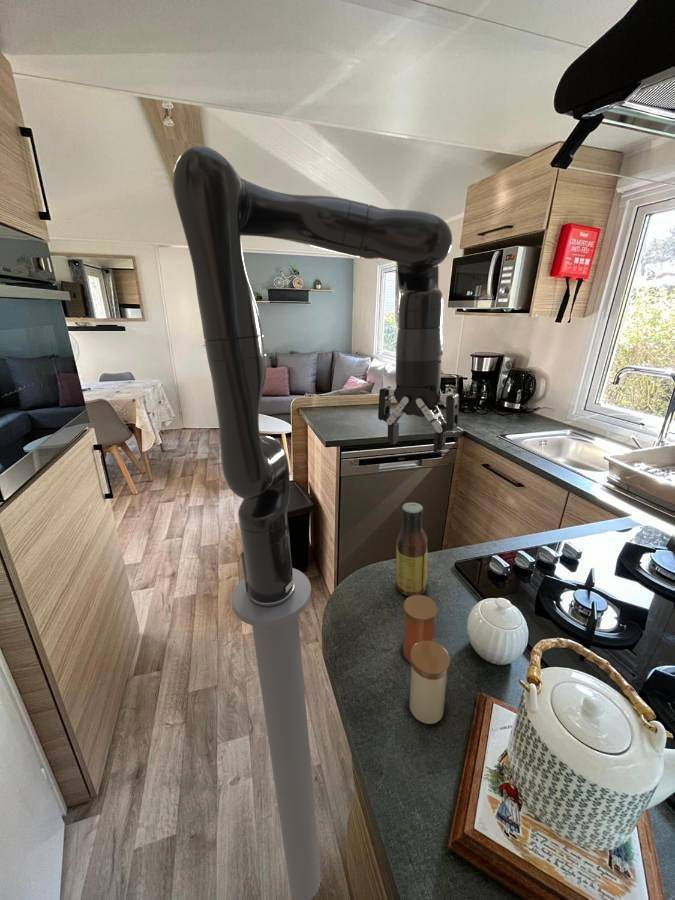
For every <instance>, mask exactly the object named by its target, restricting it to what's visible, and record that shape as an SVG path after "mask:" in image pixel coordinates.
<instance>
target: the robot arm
mask: <svg viewBox="0 0 675 900" xmlns="http://www.w3.org/2000/svg"><path fill="white" fill-rule="evenodd" d="M172 191H173V196H174V201H175V205H176V208H177V212H178V216H179V219H180V222H181V225H182V229H183V233H184V236H185V240H186V244H187V247H188V251H189V255H190V259H191V264H192V269H193V275H194V281H195V291H196V297H197V303H198V308H199V314H200V315H199V316H200V322H201V327H202V335H203V340H204V348H205V351H206V358H207V364H208V368H209V373H210V378H211V383H212V389H213V395H214V401H215V407H216V414H217V415H216V416H217V422H218V432H219V446H220V458H221V461H220V462H221V470H222V474H223V478H224V481H225V483H226V484H227V487H228V488H229V489H230V490H231V492H232V493H233V494H235V495H236V496H237V497H239V498H240V499H243V500H242V501H241V504H240V506H239V508H238V512H237V517H238V524H239V530H240V531H239V532H240V538H241V545H242V552H241V553H240V557H241V565H242V572H243V578H244V579H245V586H246V591H247V592H248V593H249V598H250V600H251V601H252V602H253V603H254V604H255V605H257V606H260V607H274V606H278V605H281V604H283V603H285V602H286V601H287V600H289V599H290V598H291V596H292V595H293V593H294V581H293V571H292V568H293V561H292V551H291V549H292V548H291V538H290V529H289V528H290V527H289V526H290V525H289V518H288V516H289V515H288V509H289V506H290V501H291V486H290V484H291V483H290V466H289V459H288V455H287V452H286V451H285V448H284V447H283V445H282V444H281V443H280V441H278V440H277V439H275V438H274V437H271V436H270V435H269V436H268V435H261V434H260V425H259V418H260V409H261V402H262V397H263V393H264V387H265V384H266V383H265V382H266V375H267V353H266V345H265V338H264V331H263V325H262V319H261V316H260V312H259V309H258V306H257V303H256V299H255V295H254V294H253V290H252V287H251V285H250V284H251V283H250V282H249V278H248V275H247V271H246V266H245V262H244V255H243V247H242V246H243V245H242V236H244V237H245V236H246V237H247V236H249V237H262V238H271V239H278V240H283V241H290V242H294V243H298V244H302V245H306V246H309V247H314V248H319V249H322V250H326V251H330V252H334V253H338V254H343V255H346V256H351V257H356V258H359V259H360V258H361V259H367V260H375V259H383V260H388V261H390V262H395V263H396V273H397V285H398V293H399V294H398V295H399V297H398V298H399V299H398V312H397V318H398V319H397V335H396V341H395V342H396V343H395V388H392V387H391V386H390V385H387V386H385V387H382V388H380V389H379V391H378V409H377V419H378V420H379V421H384V422H385V423H386V424H387V440H388V441H389V445H396V444H397V443H398V442H399V440H400V439H399V438H400V432H399V431H400V423H399V422H398V421H399V420H400V419H401V418H402V417H403V415H404V414H405V415H406V416H416V417H418V418H424V417H425V418H426V420H427V422H429V423H430V424H431V425H432V427H433V428H434V430H435V431H434V432H433V448H432V449H433V453H436V454H439V453H440V452H441V451H442V450H443V449H444V448H445V447H446V439H447V432H452V431H454V429H456V428H457V427H459V410H460V409H459V408H460V407H459V405H460V401H459V398H460V396H459V394H458V393H457V392H452V393H442V391H441V378H442V362H443V361H442V360H443V354H444V348H443V347H444V345H443V344H444V343H443V317H444V296H443V292H442V291H441V290H440V287H439V286H440V285H439V280H440V279H439V274H440V272H439V270H440V269H439V267H440V264H442V263H443V262H444V261H445V259H446V258H447V257H448V255H449V253H450V251H451V250H452V245H453V233H452V230H451V228H450V226H449V225H448V223H447V222H446V221H445V220H444V219H443V218H442V217H440V216H438V215H436V214H433V213H429V212H425V211H421V210H420V211H419V210H411V209H410V210H409V209H398V208H383V207H379V206H377V205H374V204H373V205H372V204H369V203H364V202H361V201H357V200H351V199H348V198H345V197H338V196H330V195H315V194H314V195H312V194H311V195H309V194H291V193H285V192H281V191H276V190H272V189H268V188H265V187H263V186H260V185H258V184H255V183H252V182H250V181H248V180H246V179H244V178H242V177H241V176H240V175H239V173H238V171H237V170H236V169H235V167H234V166H233V165H232V164H231V163H230V162H229V160H228V159H227V158H225V156H224V155H222V154H221V153H219V152H218V151H217V150H214V149H213V148H211V147H208V146H205V145H195V146H190V147H189V148H187V149H186V150H184V152H182V154H181V155H180V156H179V158H178V159H177V160H176V164H175V166H174V169H173V174H172ZM393 399H395V401H396V403H397V405H396V407H395V408H394V409H393V411H391V406H392V400H393ZM440 402H442V404H443V406H444V408H445V416H446V417H445V419H444V417H443V413H442V411H441V409H440V408H439V406H438V404H439V403H440Z"/></svg>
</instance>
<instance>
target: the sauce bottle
mask: <svg viewBox="0 0 675 900" xmlns="http://www.w3.org/2000/svg"><path fill="white" fill-rule="evenodd" d="M401 514H402V523H401V528H400V529H399V530H400V531H399V533H398V534H397V537H396V541H395V543H396V544H395V549H396V550H395V552H396V554H395V559H396V561H395V563H396V564H395V565H396V568H395V569H396V570H395V571H396V576H395V577H396V586H397V589H398V591H399V592H400V593H401V594H402V595H404V596H407V597H410V596H413V595H423V594H424V593H425V591H426V588H427V580H428V579H427V578H428V550H429V549H428V536H427V533H426V531H425V530H424V528H423V516H424V515H423V514H424V508H423V506H422V505H421V504H420V503H418V502H406V503H403V505H402V506H401Z"/></svg>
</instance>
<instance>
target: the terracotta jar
mask: <svg viewBox="0 0 675 900" xmlns="http://www.w3.org/2000/svg"><path fill="white" fill-rule="evenodd" d="M403 615H404V618H403V619H404V620H403V644H402V654H403V657H404V658H405V660H406V661H407V662H409V663H410V664H411V662H410V653H411V649H412V647H413V646H414V645H415V644H416V643H418V642H421V641H433V642H435V632H436V631H435V629H436V620H437V617H438V605H437V603H436V602H435V601H434V600H433V599H431V598H430V597H428V596H426V595H423V594H421V595H413V596H407V598H406V599H405V600H404V602H403Z"/></svg>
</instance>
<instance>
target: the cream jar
mask: <svg viewBox="0 0 675 900" xmlns="http://www.w3.org/2000/svg"><path fill="white" fill-rule="evenodd" d="M410 662H411V663H410ZM410 662H409V663H410V665H411V666H410V682H409V683H410V685H409V703H408V705H409V710H410V712H411V714H412V716H413V717H414V718H415V719H416V720H418V722H421V723H423V724H428V725H433V724H436V723H439V721H440V720H442V719H443V716H444V713H445V712H444V711H445V702H446V691H447V683H448V682H447V680H448V673H449V671H450V667H451V658H450V655H449V653H448V650H447V649H446V648H445V647H444V646H443V645H441V644H440V643H438V642H436V641H434V642H433V641H421V642H418V643H416V644H415V645H414V646H413V647H412V649H411V653H410Z"/></svg>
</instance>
